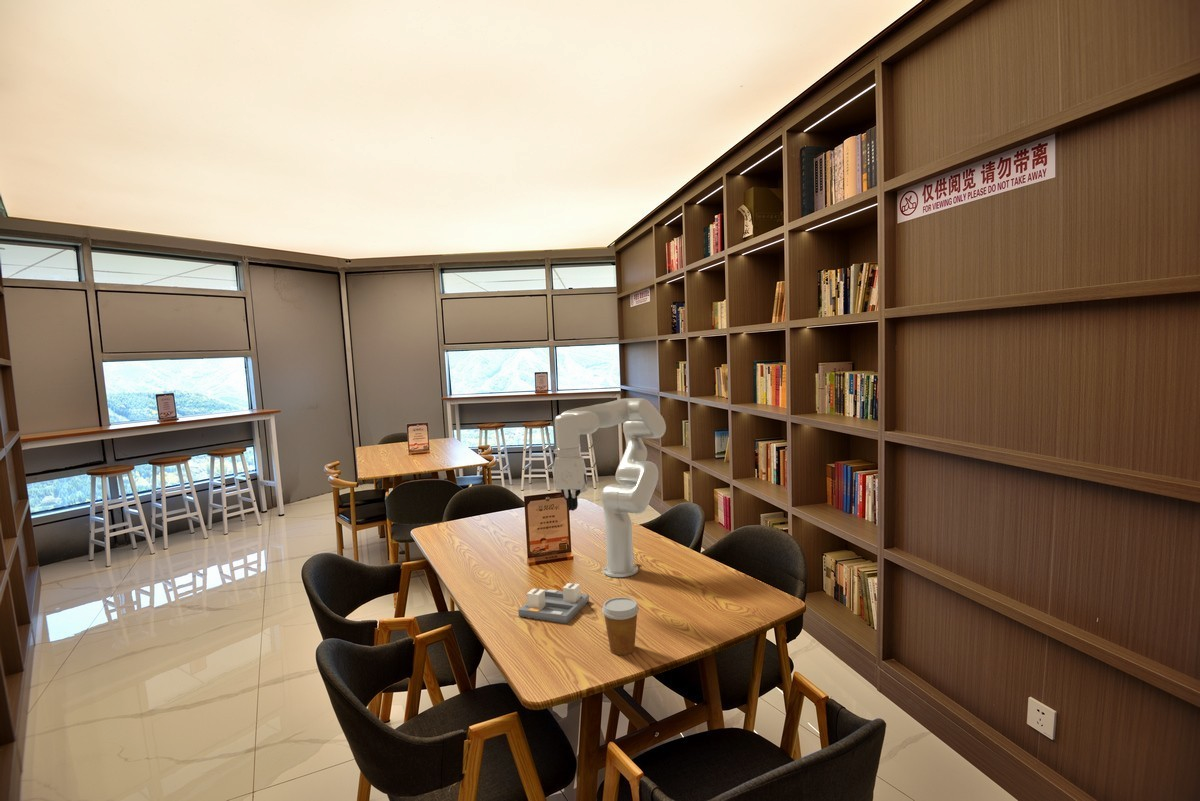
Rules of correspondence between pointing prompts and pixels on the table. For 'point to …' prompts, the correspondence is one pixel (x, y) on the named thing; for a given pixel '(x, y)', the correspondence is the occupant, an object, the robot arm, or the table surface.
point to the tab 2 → (571, 593)
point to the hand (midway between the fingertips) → (572, 509)
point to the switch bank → (555, 608)
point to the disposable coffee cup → (621, 624)
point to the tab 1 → (536, 598)
